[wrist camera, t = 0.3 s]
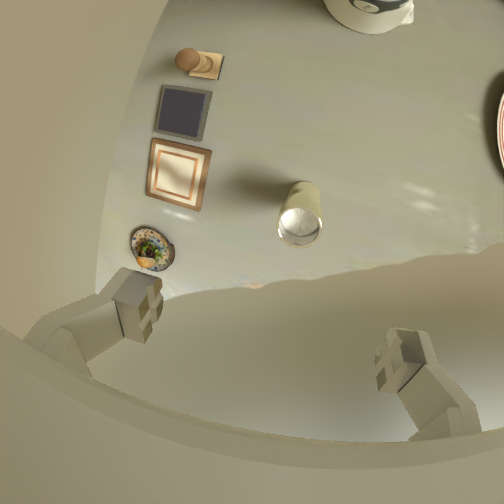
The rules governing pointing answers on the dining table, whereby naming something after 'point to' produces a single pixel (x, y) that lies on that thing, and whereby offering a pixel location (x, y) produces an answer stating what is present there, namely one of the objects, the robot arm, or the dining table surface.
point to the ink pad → (183, 112)
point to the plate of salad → (152, 250)
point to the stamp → (200, 63)
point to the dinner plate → (501, 129)
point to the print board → (178, 173)
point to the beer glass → (301, 216)
